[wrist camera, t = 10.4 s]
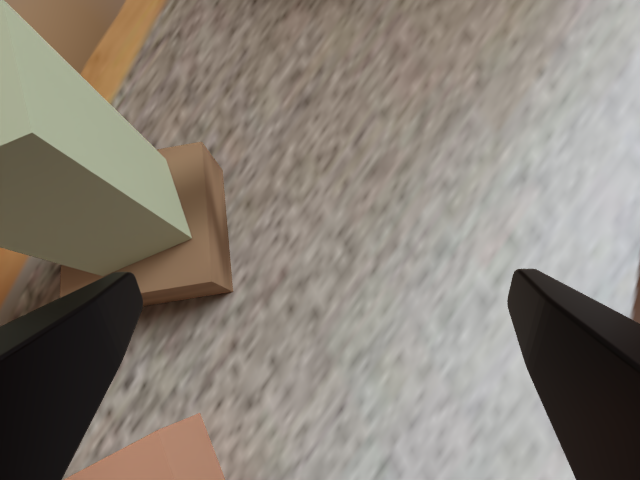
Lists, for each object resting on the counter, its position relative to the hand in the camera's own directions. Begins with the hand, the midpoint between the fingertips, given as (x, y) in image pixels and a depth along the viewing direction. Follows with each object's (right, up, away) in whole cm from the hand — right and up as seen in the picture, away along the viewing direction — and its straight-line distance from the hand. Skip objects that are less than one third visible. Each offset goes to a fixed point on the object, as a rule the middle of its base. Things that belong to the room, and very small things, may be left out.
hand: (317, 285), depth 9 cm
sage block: (-10, +2, +12) cm, 16 cm away
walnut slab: (-10, +1, +16) cm, 18 cm away
